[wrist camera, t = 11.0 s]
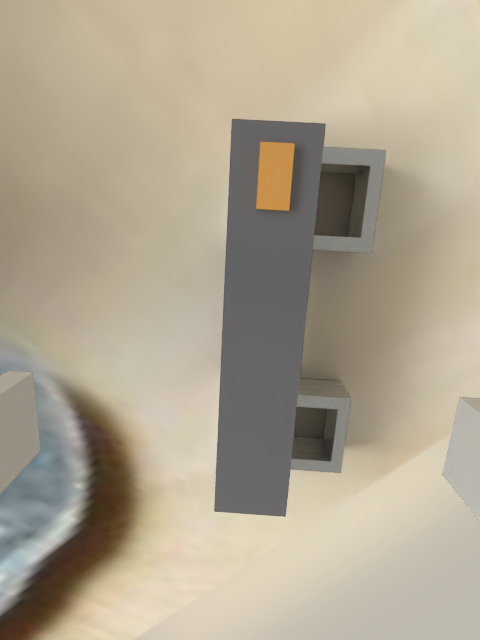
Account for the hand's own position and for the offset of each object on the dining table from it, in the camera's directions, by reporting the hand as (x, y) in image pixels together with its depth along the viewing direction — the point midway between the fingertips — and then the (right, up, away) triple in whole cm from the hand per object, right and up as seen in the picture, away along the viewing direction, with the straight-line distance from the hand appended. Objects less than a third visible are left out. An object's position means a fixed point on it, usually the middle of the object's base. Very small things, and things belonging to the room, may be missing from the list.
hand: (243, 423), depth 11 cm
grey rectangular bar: (+1, +4, +16) cm, 16 cm away
